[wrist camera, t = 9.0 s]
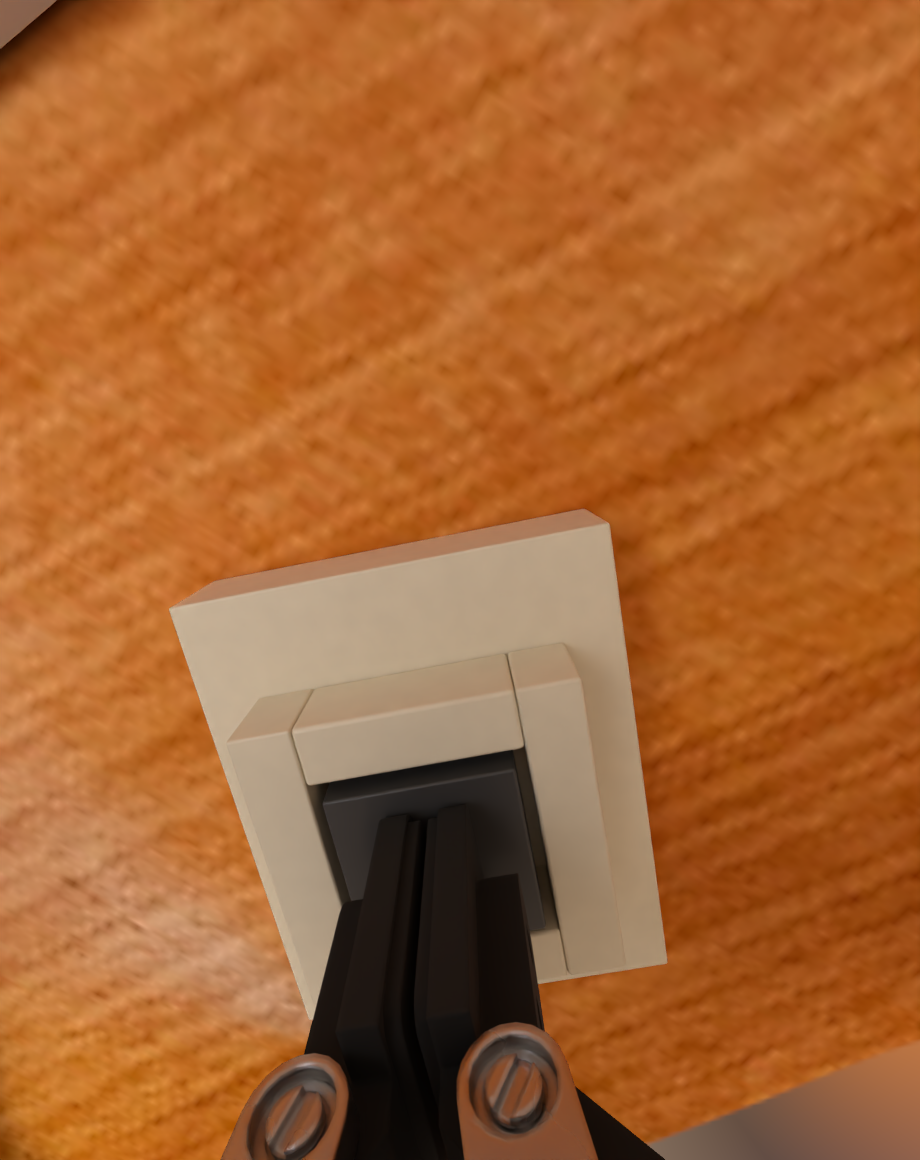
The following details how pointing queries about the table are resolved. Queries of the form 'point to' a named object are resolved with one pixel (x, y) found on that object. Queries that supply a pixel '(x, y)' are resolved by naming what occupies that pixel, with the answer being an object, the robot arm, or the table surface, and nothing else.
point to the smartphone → (19, 16)
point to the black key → (421, 795)
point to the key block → (437, 719)
